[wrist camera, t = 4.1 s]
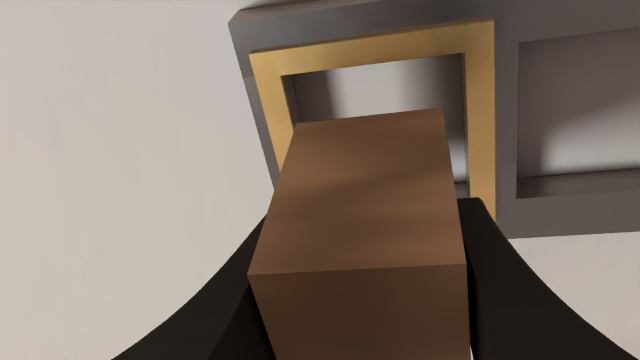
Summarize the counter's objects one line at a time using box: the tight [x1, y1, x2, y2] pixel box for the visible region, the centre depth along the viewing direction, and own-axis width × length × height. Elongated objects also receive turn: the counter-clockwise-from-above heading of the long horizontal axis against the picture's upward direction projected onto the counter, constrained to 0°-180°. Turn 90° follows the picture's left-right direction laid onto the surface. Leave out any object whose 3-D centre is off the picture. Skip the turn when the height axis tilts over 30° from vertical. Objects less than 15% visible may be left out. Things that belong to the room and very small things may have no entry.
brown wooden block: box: [247, 108, 471, 360], centre depth 13 cm, size 4×4×6 cm
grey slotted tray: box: [228, 0, 640, 239], centre depth 17 cm, size 15×9×1 cm, turn 101°
